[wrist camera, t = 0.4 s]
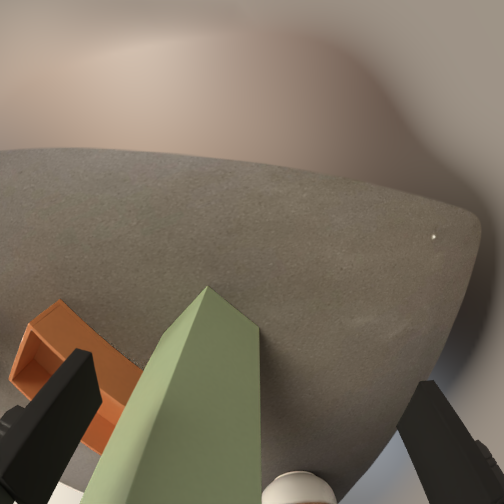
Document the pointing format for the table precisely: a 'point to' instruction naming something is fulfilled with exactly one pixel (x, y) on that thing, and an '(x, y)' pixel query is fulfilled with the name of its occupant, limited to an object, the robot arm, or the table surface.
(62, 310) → the open box
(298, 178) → the table surface
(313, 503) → the lidded bowl
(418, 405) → the robot arm
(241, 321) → the shelf stand
